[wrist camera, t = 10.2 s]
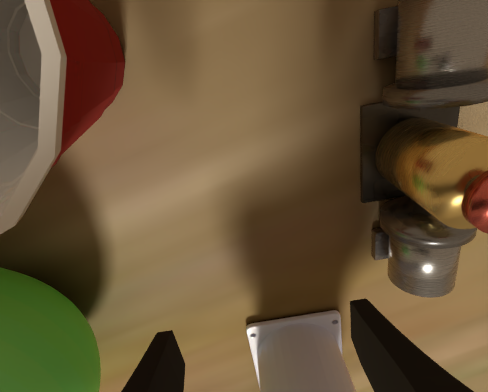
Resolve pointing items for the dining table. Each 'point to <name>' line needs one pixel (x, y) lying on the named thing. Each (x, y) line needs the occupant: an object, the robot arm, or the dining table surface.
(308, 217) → the dining table surface
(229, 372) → the dining table surface
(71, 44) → the plastic cup
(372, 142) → the grey metal fittings
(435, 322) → the dining table surface
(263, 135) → the dining table surface
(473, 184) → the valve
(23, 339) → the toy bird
